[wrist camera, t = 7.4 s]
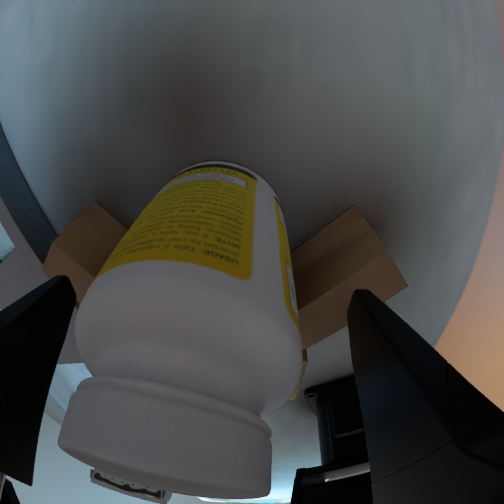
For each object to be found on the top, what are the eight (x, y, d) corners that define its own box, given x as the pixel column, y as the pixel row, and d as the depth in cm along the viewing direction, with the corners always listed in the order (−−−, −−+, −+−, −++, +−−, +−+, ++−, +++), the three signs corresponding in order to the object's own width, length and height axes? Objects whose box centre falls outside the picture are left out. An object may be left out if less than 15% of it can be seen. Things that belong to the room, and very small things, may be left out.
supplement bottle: (134, 218, 11) (12, 425, 3) (219, 130, 9) (34, 397, 1) (220, 291, 14) (190, 499, 5) (310, 227, 11) (369, 485, 3)
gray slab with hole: (134, 333, 16) (124, 358, 14) (62, 346, 18) (53, 364, 16) (-13, 87, 7) (-38, 94, 5) (-54, 168, 9) (-71, 179, 7)
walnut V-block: (338, 349, 16) (348, 396, 13) (121, 338, 16) (104, 380, 13) (384, 207, 11) (421, 252, 8) (72, 202, 11) (29, 241, 8)
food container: (124, 439, 33) (113, 490, 24) (102, 424, 29) (87, 480, 21) (193, 449, 31) (186, 508, 23) (175, 436, 28) (165, 504, 19)
